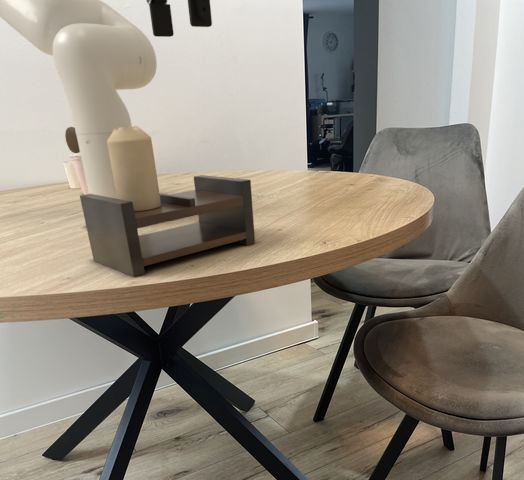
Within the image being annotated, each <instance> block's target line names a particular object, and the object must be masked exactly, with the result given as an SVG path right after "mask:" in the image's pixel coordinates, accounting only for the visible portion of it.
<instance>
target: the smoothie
mask: <svg viewBox="0 0 524 480" xmlns="http://www.w3.org/2000/svg"><path fill="white" fill-rule="evenodd" d="M69 159H70V161H72V162H73V165H74V168H75V171H76V174H77V177H78V180H79V183H80V186H81V188H80V189H81V190H82V191H81V192H82V195H86V194H89V193H88V188H87V183H86V178H85V174H84V169H83V164H82V159H81V154H80V152H79V153H73V154H70V155H69Z"/></svg>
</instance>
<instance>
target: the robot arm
mask: <svg viewBox="0 0 524 480" xmlns="http://www.w3.org/2000/svg"><path fill="white" fill-rule="evenodd" d="M145 1H146V4H147V5H148V6H149V13H150V21H151V29H152V35H153V36H154V37H161V38H162V37H164V38H165V37H166V38H167V37H169V38H170V37H173V36H174V26H173V17H172V9H171V4H169V3H168V0H145ZM187 6H188V7H187V8H188V17H189V24H190V26H191V27H195V28H198V27H199V28H209V27H212V26H213V20H212V9H211V8H212V7H211V0H187ZM0 18H1V19H2V20H4V21H5V22H6V23H7V24H8V26H10V27H12V29H14V30H15V31H16V32H17V33H18V34H19V35H20V36H22V37H23V38H24V39H26V40H27V41H28V42H29V43H30V44H32V45H33V46H34V47H35V48H37V50H39V51H40V52H42V53H44V54H46V55H49V56H52V59H53V61H54V65H55V68H56V71H57V74H58V77H59V79H60V81H61V84H62V87H63V89H64V92H65V95H66V98H67V102H68V105H69V109H70V112H71V117H72V122H73V127H74V128H75V131H76V135H77V140H78V145H79V150H80V154H81V159H82V164H83V169H84V174H85V178H86V183H87V188H88V193H89V194H94V195H100V196H105V197H110V198H115V199H117V193H116V188H115V182H114V177H113V172H112V166H111V161H110V155H109V150H108V145H107V140H108V139H109V137H110V136H111V134H112V133H113V131H114V129H115V128H120V127H123V128H125V127H133V125H132V120H131V116H130V113H129V111H128V108H127V106H126V104H125V102H124V101H123V99H122V98H121V96H120V95H119V93H118V91H119V90H120V91H121V90H137V89H141V88H144V87H146V86H147V85H149V84H150V83H151V82H152V81H153V79H154V77H155V76H156V72H157V67H158V66H157V65H158V63H157V55H156V52H155V49H154V47H153V45H152V43H151V41H150V39H149V37H148V36H147V35H146V34H145V33H144V32H143V30H141V29H140V28H139V27H138V26H137V25H135V24H133V22H130V20H128V19H127V18H126V17H125V16H123V15H122V14H121V13H119V12H117V10H115V9H114V8H113V7H111V6H110V5H108V4H107V3H106V2H104V1H103V0H0Z"/></svg>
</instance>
